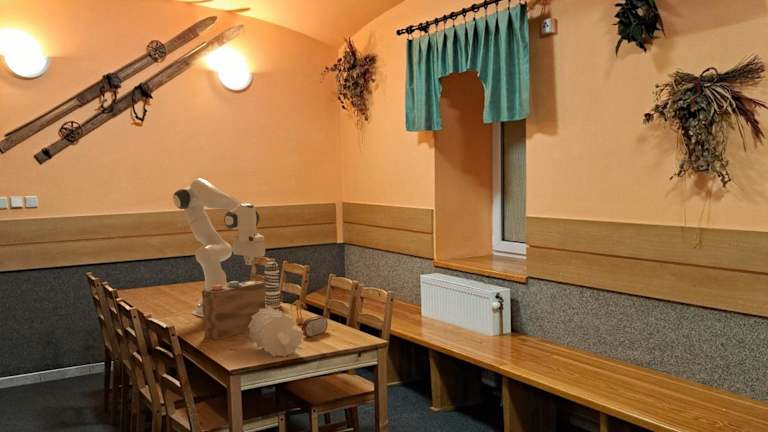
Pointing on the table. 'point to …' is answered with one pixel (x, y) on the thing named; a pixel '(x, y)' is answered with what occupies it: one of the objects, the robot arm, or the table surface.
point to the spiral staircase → (275, 332)
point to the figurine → (299, 318)
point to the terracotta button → (217, 287)
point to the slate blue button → (233, 284)
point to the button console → (231, 309)
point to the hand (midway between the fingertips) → (248, 264)
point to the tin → (314, 326)
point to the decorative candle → (272, 285)
